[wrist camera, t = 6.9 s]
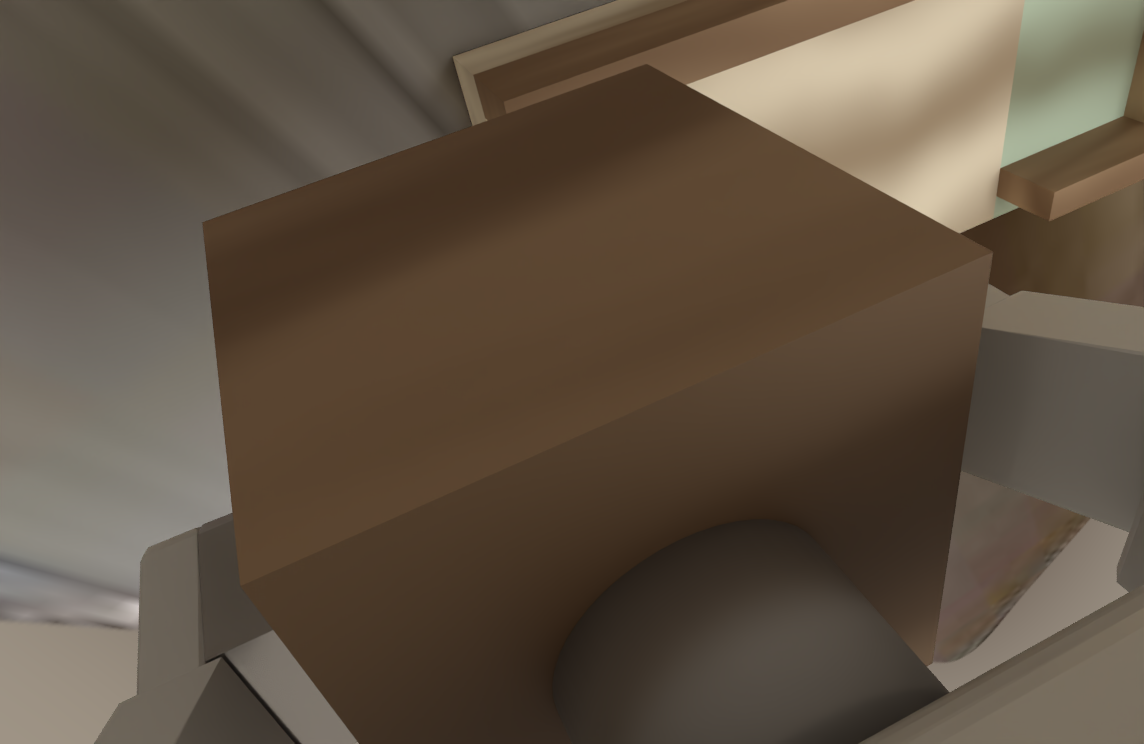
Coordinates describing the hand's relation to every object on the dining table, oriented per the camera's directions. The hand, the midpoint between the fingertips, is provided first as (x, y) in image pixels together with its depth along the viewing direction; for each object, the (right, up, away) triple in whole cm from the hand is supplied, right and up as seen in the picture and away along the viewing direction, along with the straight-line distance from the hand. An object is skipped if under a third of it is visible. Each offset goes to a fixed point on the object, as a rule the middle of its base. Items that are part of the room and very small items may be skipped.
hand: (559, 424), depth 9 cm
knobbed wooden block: (-1, +1, +2) cm, 2 cm away
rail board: (+10, +10, +21) cm, 25 cm away
